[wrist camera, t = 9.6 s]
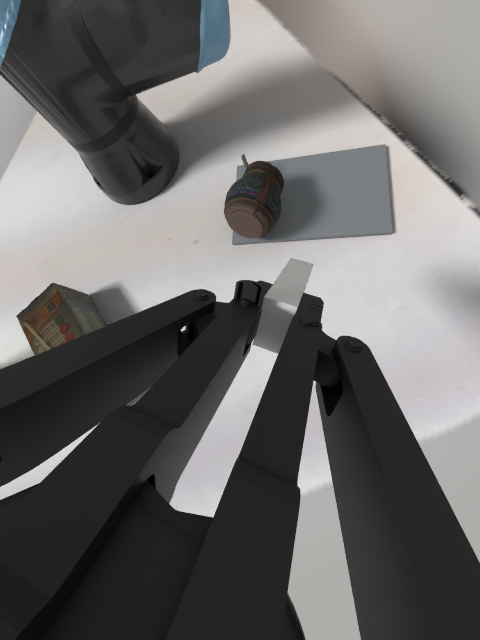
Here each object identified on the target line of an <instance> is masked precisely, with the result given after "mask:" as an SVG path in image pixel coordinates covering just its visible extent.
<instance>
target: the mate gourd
mask: <svg viewBox="0 0 480 640" xmlns="http://www.w3.org/2000/svg"><path fill="white" fill-rule="evenodd" d="M241 158H242V160H243V163H244V166H245V168H246V170H245V172H244V175H243V177H242V178H241V179H239V180H237V181H236V182H235V183H234V184H233V185H232V186H231V188H230V189H229V191H228V192H227V196H226V200H225V208H224V214H225V218H226V220H227V222H228V224H229V226H230V227H231V229H232V230H233V231H235V232H236V233H237V234H239V235H240V236H243V237H246V238H259V237H262V236H264V235H266V234H268V233H269V232H270V231H271V229H272V228H273V227H274V226H275V224H276V222H277V221H278V219H279V217H280V213H281V198H280V196H281V193H282V190H283V187H284V179H283V176H282V174H281V172H280V171H279V169H278V168H276V167H275V166H273V165H271V163H268V162H265V161H256V162H253V163H251V164H250V165H249V166H248V163H247V161H246V159H245V155H244V154H243V155H242V157H241Z"/></svg>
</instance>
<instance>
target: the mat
mask: <svg viewBox="0 0 480 640" xmlns="http://www.w3.org/2000/svg"><path fill="white" fill-rule="evenodd" d="M268 163H271V165H273V166H275V167H276V168H278V169H279V171H280V172H281V174H282V176H283V179H284V187H283V190H282V193H281V196H280V198H281V213H280V217H279V219H278V221H277V222H276V224H275V226H274V227H273V228H272V229H271V231H270V232H269V233H268V234H266V235H264V236H262V237H259V238H246V237H243V236H240V235H239V234H237V233H236V232H235V231H233V240H232V244H233V245H242V244H256V243H271V242H286V241H300V240H315V239H329V238H344V237H358V236H373V235H388V234H392V232H393V231H392V218H391V206H390V193H389V181H388V169H387V156H386V144H385V145H378V146H371V147H364V148H357V149H350V150H343V151H337V152H330V153H323V154H316V155H309V156H302V157H296V158H289V159H282V160H275V161H268ZM249 165H250V164H248V166H249ZM245 170H246V168H245V166H244V165H241V166H237V179H236V181H237V180H239V179H241V178H242V177H243V175H244V172H245Z"/></svg>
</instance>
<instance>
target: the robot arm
mask: <svg viewBox="0 0 480 640" xmlns="http://www.w3.org/2000/svg"><path fill="white" fill-rule="evenodd" d="M229 44H230V17H229V4H228V0H0V75H2V77H3V78H4V79H5V80H6V81H7V82H8V83H9V84H10V85H11V86H12V87H13V88H14V89H15V90H16V91H17V92H18V93H19V94H20V95H22V97H23V98H24V99H26V101H28V102H29V103H30V104H31V105H32V106H33V107H34V108H35V109H36V110H37V111H38V112H39V113H40V114H41V115H42V116H43V117H44V118H45V119H46V120H47V121H48V122H49V123H50V124H51V125H52V126H53V127H54V128H55V129H56V130H57V131H58V132H59V133H60V134H61V135H62V136H63V137H64V138H65V139H66V140H67V141H68V142H69V143H70V144H71V145H72V146H73V147H74V148H75V149H76V151H77V152H78V153H79V155H80V157H81V158H82V160H83V162H84V164H85V165H86V167H87V169H88V170H89V172H90V173H91V175H92V176H93V179H94V181H95V182H96V184H97V186H98V187H99V188H100V189H101V190H102V191H103V192H104V193H105V194H106V195H107V196H108V197H109V198H110V199H112V200H113V201H115V202H117V203H120V204H127V205H130V204H137V203H141V202H144V201H146V200H148V199H150V198H152V197H153V196H155V195H156V194H158V193H159V192H160V191H161V190H162V189H163V188H164V187H165V186H166V185H167V184H168V183H169V181H170V180H171V178H172V177H173V175H174V173H175V170H176V168H177V164H178V158H179V153H178V147H177V145H176V142H175V141H174V139H173V137H172V135H171V133H170V131H169V130H168V129H167V127H166V126H165V125H164V124H163V123H161V122H160V121H159V120H158V119H157V118H156V117H155V115H154V114H153V113H152V112H151V111H150V110H149V109H148V108H147V107H146V106H145V105H144V104H143V103H142V102H141V101H140V100H139V99H138V98H137V96H136V94H138V93H141V92H143V91H146V90H149V89H151V88H154V87H156V86H159V85H162V84H164V83H167V82H169V81H172V80H175V79H177V78H180V77H182V76H185V75H188V74H190V73H193V72H196V73H199V72H200V71H201V70H202V68H204V67H206V66H208V65H210V64H213V63H215V62H217V61H219V60H221V59H222V58H223V57H224V56H225V55H226V53H227V51H228V48H229ZM312 267H313V264H311V263H308V262H304V261H300V260H297V259H293V258H291V259H290V260H289V262H288V263H287V265H286V266H285V268H284V269H283V270H282V272H281V273H280V275H279V276H278V278H277V279H276V281H275V282H274V284H270V283H267V282H264V281H258V282H255V281H250V280H241V281H238V282H236V288H235V294H234V299H233V300H232V301H231V302H230V303H223V302H216V296H215V294H214V293H212V292H210V291H207V290H204V289H199V290H192V291H189V292H187V293H185V294H182V295H180V296H177V297H175V298H173V299H170V300H168V301H165V302H163V303H160V304H158V305H156V306H153V307H151V308H148V309H146V310H144V311H141V312H139V313H136V314H134V315H131V316H129V317H127V318H124V319H122V320H119V321H117V322H115V323H112V324H110V325H107V326H105V327H103V328H100V329H98V330H95V331H93V332H90V333H88V334H86V335H83V336H81V337H78V338H76V339H74V340H71V341H69V342H66V343H64V344H61V345H59V346H57V347H54V348H52V349H49V350H47V351H45V352H42V353H40V354H37V355H35V356H32V357H30V358H28V359H25V360H23V361H20V362H18V363H16V364H13V365H11V366H8V367H6V368H3V369H1V370H0V487H1V486H3V485H5V484H7V483H9V482H11V481H12V480H14V479H16V478H18V477H20V476H21V475H23V474H25V473H27V472H28V471H30V470H32V469H34V468H35V467H37V466H38V465H40V464H41V463H43V462H44V461H46V460H47V459H49V458H50V457H52V456H53V455H55V454H56V453H58V452H59V451H60V450H62V449H63V448H65V447H66V446H68V445H69V444H70V443H72V442H73V441H75V440H76V439H78V438H79V437H80V436H82V435H83V434H85V433H86V432H87V431H89V430H90V429H92V428H93V427H95V426H96V425H97V424H99V423H100V422H101V423H100V424H99V425H98V426H97V427H96V428H95V429H94V430H93V431H92V432H91V433H90V434H89V435H88V436H87V437H86V438H85V439H84V440H83V441H82V442H81V443H80V444H79V445H78V446H77V447H76V448H75V449H74V450H73V451H72V452H71V453H70V454H69V455H68V456H67V457H66V458H65V459H64V460H63V461H62V462H61V463H60V464H59V465H58V466H57V467H56V468H55V469H54V470H53V471H52V472H51V473H50V474H49V475H48V476H47V477H46V478H45V479H44V480H43V481H42V482H41V483H39V484H36V485H34V486H32V487H29V488H27V489H25V490H23V491H20V492H18V493H16V494H13V495H11V496H9V497H6V498H4V499H2V500H0V640H305V636H304V633H303V630H302V627H301V624H300V621H299V618H298V616H297V613H296V611H295V608H294V606H293V603H292V602H291V599H290V597H289V595H288V593H287V591H288V583H289V577H290V569H291V563H292V556H293V549H294V541H295V534H296V527H297V521H298V514H299V506H300V488H299V487H298V486H297V480H298V472H299V466H300V460H301V454H302V448H303V442H304V435H305V429H306V423H307V417H308V411H309V405H310V398H311V392H312V386H313V380H314V381H316V392H317V398H318V403H319V409H320V414H321V420H322V425H323V431H324V437H325V442H326V448H327V453H328V459H329V464H330V470H331V475H332V481H333V487H334V492H335V498H336V503H337V509H338V514H339V520H340V525H341V531H342V537H343V542H344V547H345V553H346V559H347V564H348V570H349V575H350V581H351V587H352V592H353V597H354V602H355V609H356V613H357V620H358V625H359V631H360V636H361V640H480V563H479V561H478V559H477V557H476V555H475V553H474V551H473V549H472V547H471V545H470V543H469V541H468V539H467V537H466V535H465V533H464V531H463V529H462V528H461V526H460V524H459V522H458V520H457V518H456V516H455V514H454V512H453V510H452V508H451V506H450V504H449V502H448V500H447V498H446V496H445V495H444V492H443V491H442V489H441V487H440V485H439V483H438V481H437V479H436V477H435V475H434V473H433V471H432V469H431V467H430V465H429V463H428V461H427V459H426V458H425V456H424V454H423V452H422V450H421V448H420V446H419V444H418V442H417V440H416V438H415V436H414V434H413V432H412V430H411V428H410V426H409V424H408V422H407V420H406V418H405V417H404V415H403V413H402V411H401V409H400V407H399V405H398V403H397V401H396V399H395V397H394V395H393V393H392V391H391V389H390V387H389V385H388V383H387V381H386V380H385V378H384V376H383V374H382V372H381V370H380V368H379V366H378V364H377V362H376V360H375V358H374V356H373V354H372V352H371V350H370V349H369V347H368V346H367V345H366V344H365V343H363V342H362V341H361V340H359V339H357V338H355V337H350V336H340V337H339V338H338V339H337V340H335V339H333V338H331V337H329V336H328V335H326V334H325V333H324V332H323V331H322V324H321V316H322V311H323V305H324V302H323V301H322V299H321V298H319V297H316V296H313V295H309V294H306V293H304V291H305V288H306V285H307V282H308V279H309V276H310V273H311V270H312ZM184 326H186V330H184V331H182V332H181V329H182V328H183V327H184ZM253 339H254V342H253V345H256V346H259V347H261V348H264V349H267V350H270V351H272V352H275V353H278V356H277V359H276V361H275V364H274V367H273V369H272V372H271V374H270V377H269V380H268V382H267V385H266V387H265V390H264V392H263V395H262V398H261V400H260V403H259V405H258V408H257V411H256V413H255V416H254V418H253V421H252V423H251V426H250V429H249V431H248V434H247V436H246V439H245V441H244V444H243V447H242V449H241V452H240V454H239V457H238V458H237V460H236V462H235V464H234V467H233V469H232V472H231V474H230V477H229V479H228V482H227V484H226V487H225V489H224V492H223V495H222V497H221V500H220V502H219V505H218V507H217V510H216V512H215V515H214V518H212V517H207V516H201V515H196V514H191V513H185V512H180V511H177V510H175V509H174V508H172V507H171V505H170V504H169V503H170V501H171V498H172V496H173V493H174V490H175V487H176V484H177V482H178V480H179V478H180V476H181V474H182V472H183V470H184V469H185V467H186V465H187V463H188V461H189V460H190V458H191V456H192V454H193V452H194V450H195V449H196V447H197V445H198V443H199V441H200V440H201V438H202V436H203V434H204V432H205V431H206V429H207V427H208V425H209V423H210V422H211V420H212V418H213V416H214V414H215V412H216V411H217V409H218V407H219V405H220V403H221V402H222V400H223V398H224V396H225V394H226V393H227V391H228V389H229V387H230V385H231V383H232V382H233V380H234V378H235V376H236V374H237V373H238V371H239V369H240V367H241V365H242V364H243V362H244V360H245V358H246V356H247V354H248V353H249V351H250V348H251V343H252V341H253ZM151 386H152V387H151ZM150 387H151V388H150ZM148 388H150V389H149V390H148V391H147V392H146V393H145V394H144V396H143V397H142V398H141V399H140V400H139V401H138V402H137V403H136V404H135V405H133V406H127V405H126V404H127V403H129V402H130V401H131V400H133V399H134V398H136V397H137V396H139V395H140V394H141V393H143V392H144V391H146V390H147V389H148Z"/></svg>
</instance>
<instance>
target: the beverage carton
mask: <svg viewBox="0 0 480 640" xmlns="http://www.w3.org/2000/svg"><path fill="white" fill-rule="evenodd" d="M16 317H17V318H18V320H19V323H20V325H21V327H22V329H23V332H24V333H25V335H26V337H27V340H28V342H29V344H30V346H31V349H32V351H33V352H34V354H35V355H37V354H40V353H42V352H45V351H47V350H49V349H52V348H54V347H57V346H59V345H61V344H64V343H66V342H69V341H71V340H74V339H76V338H78V337H81V336H83V335H86V334H88V333H90V332H93V331H95V330H98V329H100V328H103V327H105V326H106V325H105V323H104V321H103V320H102V318H101V316H100V315H99V313H98V311H97V309H96V308H95V306H94V305H93V303H92V301H91V299H90V298H89V296H88V294H85V293H82V292H79V291H76V290H74V289H70V288H68V287H65V286H62V285H58V284H56V283H52V284H50V285H49V286H48V287H47V289H46V290H45V291H44V292H42V293H41V294H40V295H39V296H38V297H36V298H35V299H34V300H33V301H32V302H31V303H30V304H29V305H28V306H27V307H26V308H25V309H24V310H22V311H21V312H20V313H19V314H18V315H17V316H16Z"/></svg>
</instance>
